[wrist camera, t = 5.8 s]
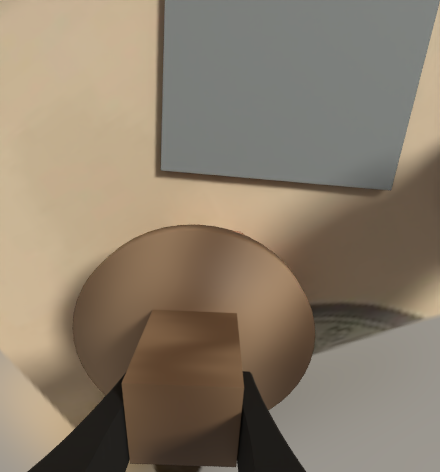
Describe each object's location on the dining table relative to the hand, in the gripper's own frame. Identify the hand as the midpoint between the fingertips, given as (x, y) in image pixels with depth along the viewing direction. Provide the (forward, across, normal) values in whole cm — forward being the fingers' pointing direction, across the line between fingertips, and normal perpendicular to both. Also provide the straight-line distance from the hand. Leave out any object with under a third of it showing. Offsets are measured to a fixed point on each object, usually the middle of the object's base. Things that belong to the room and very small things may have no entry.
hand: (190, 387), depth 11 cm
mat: (+7, -5, -16) cm, 18 cm away
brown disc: (+3, 0, -1) cm, 3 cm away
